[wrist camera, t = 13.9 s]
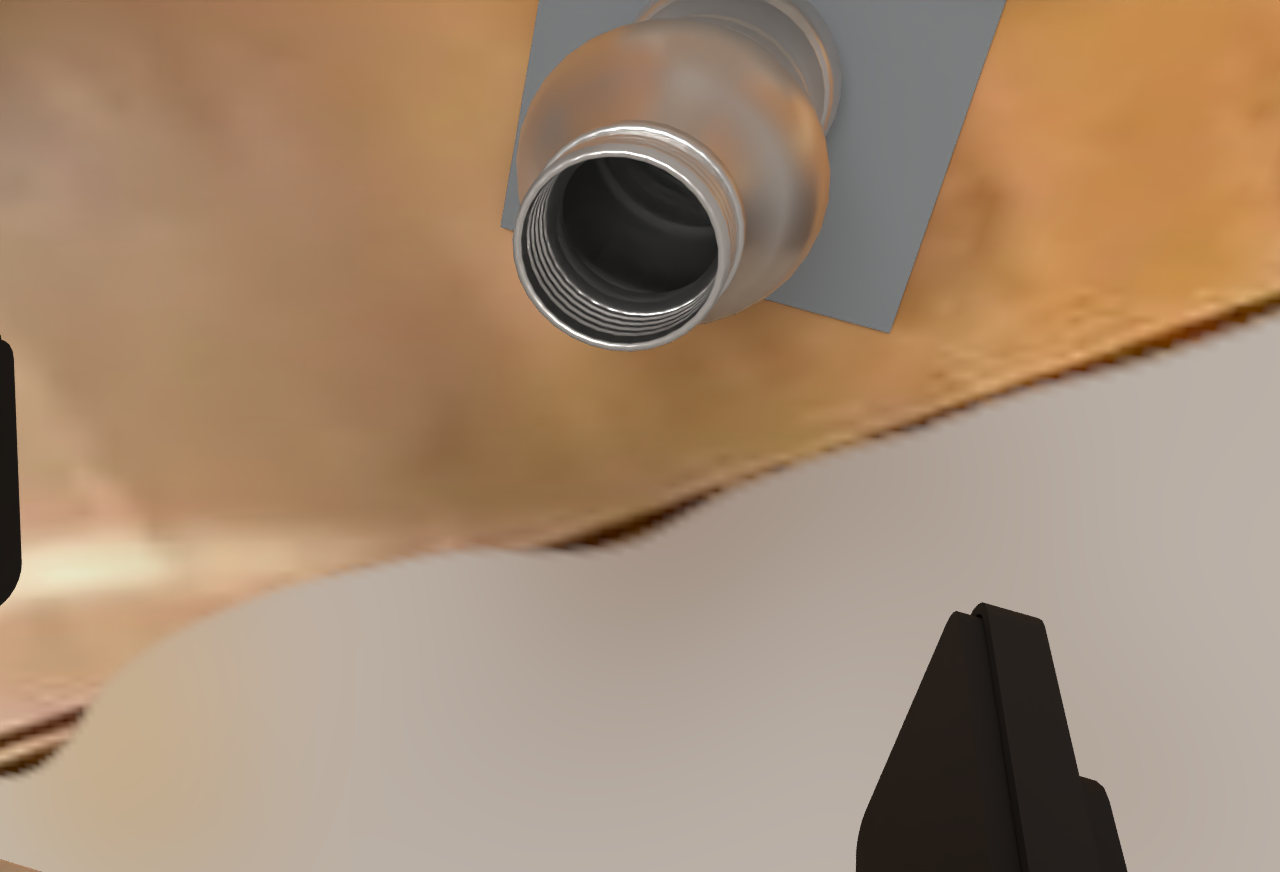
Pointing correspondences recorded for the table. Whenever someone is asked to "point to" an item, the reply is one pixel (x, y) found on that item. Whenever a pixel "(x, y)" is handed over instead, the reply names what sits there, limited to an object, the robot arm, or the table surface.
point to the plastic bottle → (676, 168)
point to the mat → (844, 134)
